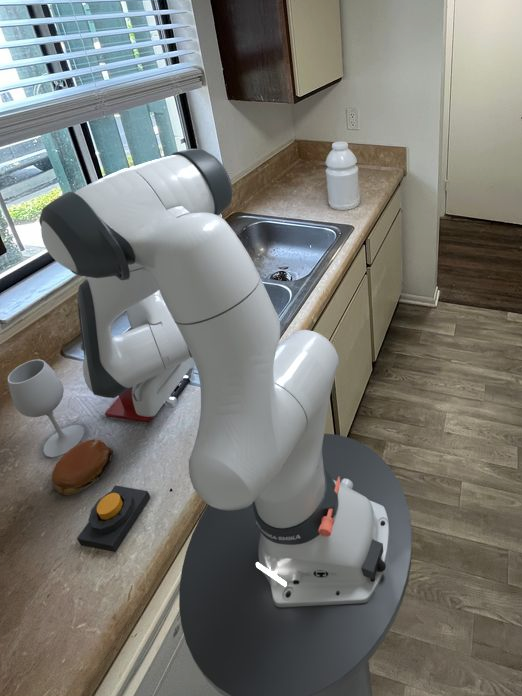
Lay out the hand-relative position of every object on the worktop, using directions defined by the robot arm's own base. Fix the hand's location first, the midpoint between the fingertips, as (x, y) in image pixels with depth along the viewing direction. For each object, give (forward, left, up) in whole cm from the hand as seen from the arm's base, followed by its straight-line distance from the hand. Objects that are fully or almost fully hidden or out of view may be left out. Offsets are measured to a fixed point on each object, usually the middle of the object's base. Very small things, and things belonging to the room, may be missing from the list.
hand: (181, 392), depth 98 cm
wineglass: (+22, +11, -6) cm, 25 cm away
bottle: (-7, -105, -6) cm, 105 cm away
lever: (+7, 0, +3) cm, 7 cm away
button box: (-1, +23, -6) cm, 24 cm away
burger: (+12, +16, -6) cm, 21 cm away
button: (-1, +23, -2) cm, 23 cm away
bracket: (+12, 0, -6) cm, 13 cm away
